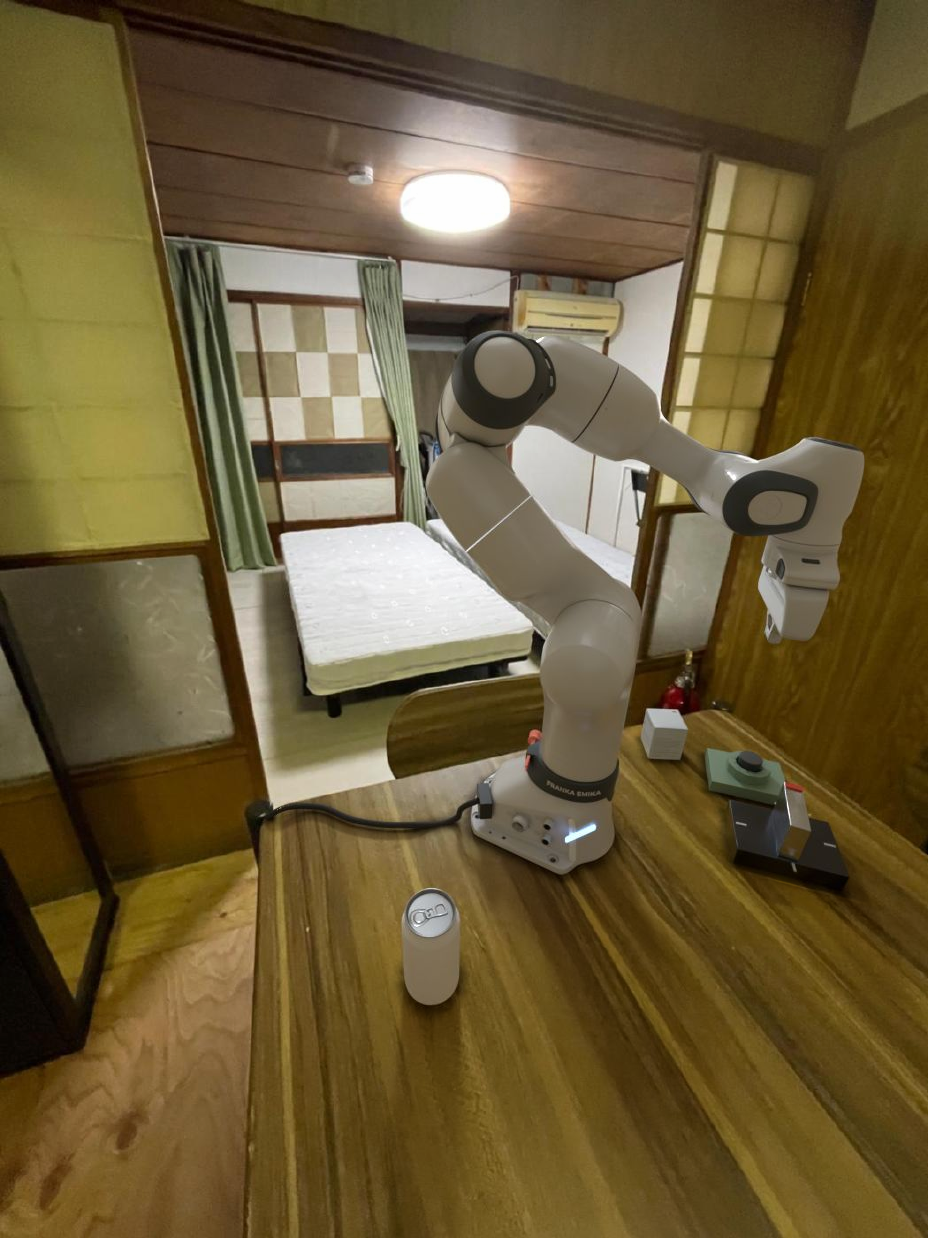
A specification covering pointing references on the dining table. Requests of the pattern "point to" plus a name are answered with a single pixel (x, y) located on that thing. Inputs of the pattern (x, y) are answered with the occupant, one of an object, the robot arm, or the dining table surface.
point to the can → (431, 946)
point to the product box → (663, 734)
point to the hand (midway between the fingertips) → (771, 639)
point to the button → (750, 761)
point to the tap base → (759, 849)
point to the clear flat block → (791, 821)
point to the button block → (743, 777)
